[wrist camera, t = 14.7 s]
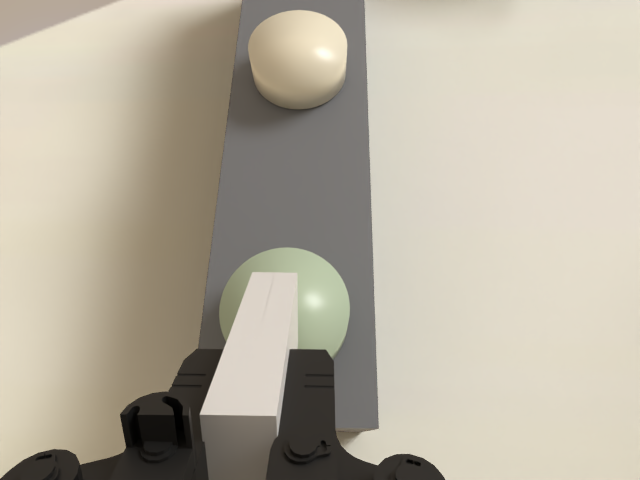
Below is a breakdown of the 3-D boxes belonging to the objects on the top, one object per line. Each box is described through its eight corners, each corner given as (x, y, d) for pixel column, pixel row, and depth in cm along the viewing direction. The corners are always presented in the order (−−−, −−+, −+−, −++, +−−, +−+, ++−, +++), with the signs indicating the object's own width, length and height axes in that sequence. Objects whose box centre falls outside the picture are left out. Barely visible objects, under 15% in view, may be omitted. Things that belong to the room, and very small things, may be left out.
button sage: (345, 389, 20) (350, 376, 15) (236, 388, 20) (212, 373, 15) (344, 285, 22) (349, 247, 17) (245, 284, 22) (226, 246, 17)
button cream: (343, 143, 25) (347, 83, 21) (257, 143, 25) (243, 82, 21) (343, 77, 27) (346, 10, 23) (263, 77, 27) (251, 9, 23)
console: (362, 431, 24) (378, 428, 16) (230, 429, 24) (188, 425, 16) (353, -9, 38) (360, -117, 30) (270, -9, 38) (257, -117, 30)
